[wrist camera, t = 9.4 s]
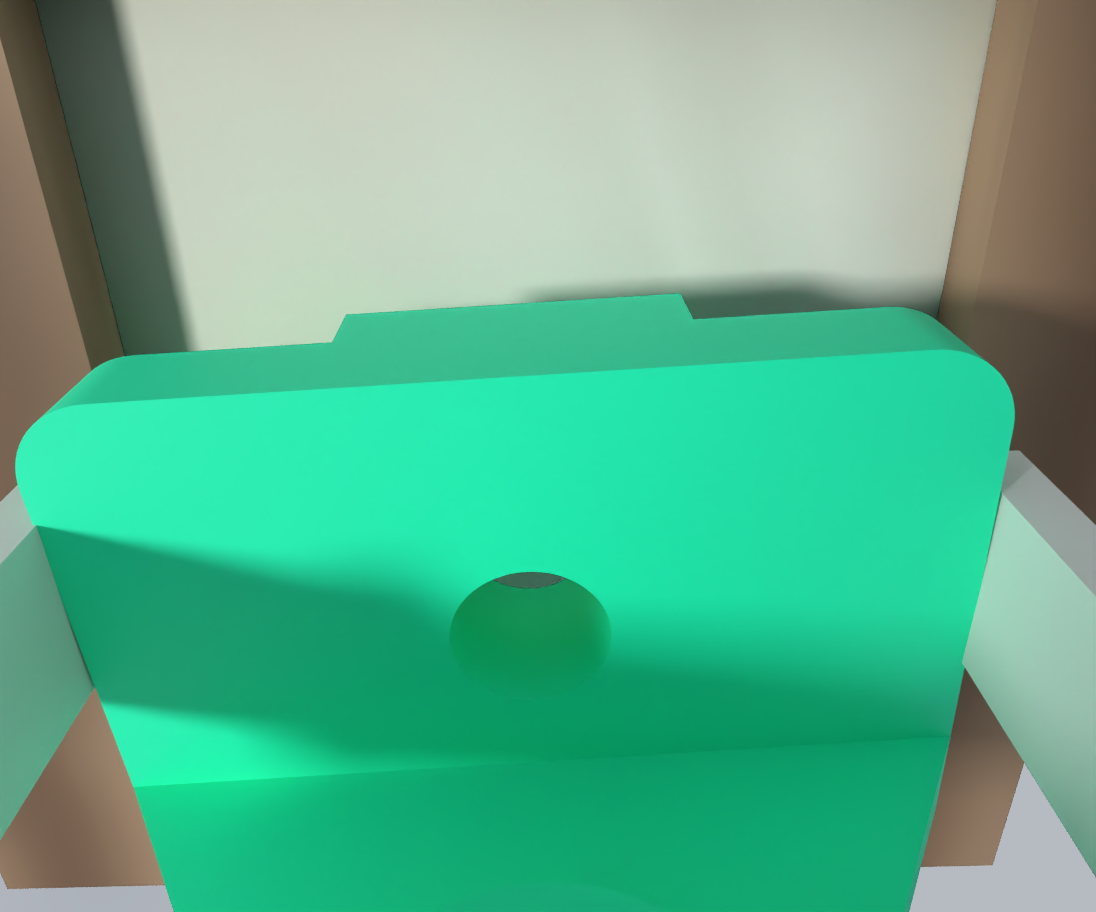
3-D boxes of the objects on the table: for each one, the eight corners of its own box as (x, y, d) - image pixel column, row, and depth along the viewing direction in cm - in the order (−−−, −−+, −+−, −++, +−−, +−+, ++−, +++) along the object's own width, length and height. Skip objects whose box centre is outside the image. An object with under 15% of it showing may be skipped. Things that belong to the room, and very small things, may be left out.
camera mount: (938, 276, 13) (1983, 1034, 4) (876, 690, 16) (1326, 1593, 7) (85, 331, 13) (-998, 1214, 4) (211, 732, 16) (-178, 1680, 7)
